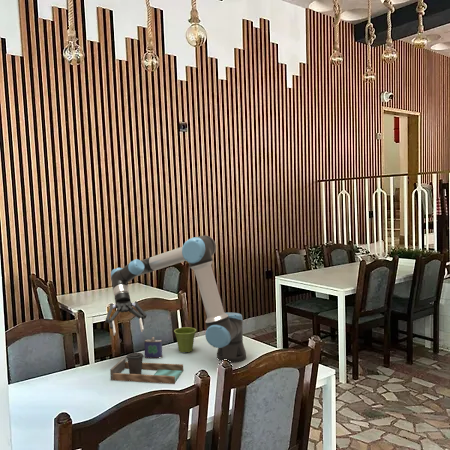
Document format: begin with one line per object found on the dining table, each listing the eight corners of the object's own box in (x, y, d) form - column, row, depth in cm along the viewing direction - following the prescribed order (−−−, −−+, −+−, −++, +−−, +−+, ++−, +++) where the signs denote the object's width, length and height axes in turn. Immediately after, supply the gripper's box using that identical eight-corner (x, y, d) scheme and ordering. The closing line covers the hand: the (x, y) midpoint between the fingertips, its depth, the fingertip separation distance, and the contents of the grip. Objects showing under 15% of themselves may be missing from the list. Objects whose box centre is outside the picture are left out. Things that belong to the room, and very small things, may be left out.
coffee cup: (140, 378, 228) (139, 357, 228) (123, 377, 230) (123, 356, 229) (146, 372, 236) (146, 351, 236) (130, 371, 238) (130, 350, 237)
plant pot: (172, 348, 270) (172, 328, 269) (193, 346, 273) (193, 326, 273) (177, 355, 259) (176, 334, 258) (199, 353, 262) (198, 332, 261)
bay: (183, 370, 238) (183, 360, 237) (174, 383, 222) (173, 372, 221) (123, 367, 243) (123, 357, 242) (110, 380, 227) (110, 369, 227)
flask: (162, 356, 258) (162, 336, 257) (161, 358, 255) (161, 338, 254) (145, 356, 258) (144, 336, 257) (144, 358, 255) (143, 338, 255)
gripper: (144, 297, 262) (152, 333, 249) (96, 301, 252) (101, 339, 240) (147, 289, 257) (155, 325, 244) (97, 293, 247) (103, 331, 234)
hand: (128, 332), depth 242 cm, fingers open, 13 cm apart
